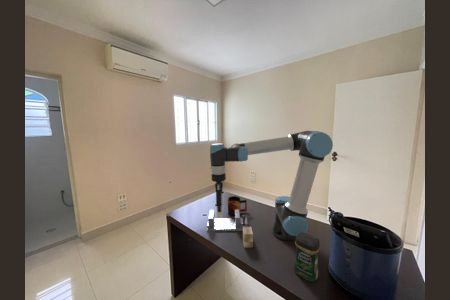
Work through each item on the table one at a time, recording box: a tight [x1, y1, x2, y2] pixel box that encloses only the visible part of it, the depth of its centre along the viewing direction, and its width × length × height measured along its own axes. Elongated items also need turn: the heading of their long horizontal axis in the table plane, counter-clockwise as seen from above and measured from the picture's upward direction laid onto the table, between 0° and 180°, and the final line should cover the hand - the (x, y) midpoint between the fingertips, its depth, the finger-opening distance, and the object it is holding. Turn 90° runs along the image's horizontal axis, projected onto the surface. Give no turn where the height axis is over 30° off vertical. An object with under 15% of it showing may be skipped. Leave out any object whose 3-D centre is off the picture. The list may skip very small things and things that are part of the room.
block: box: [242, 226, 254, 248], centre depth 99 cm, size 5×7×8 cm
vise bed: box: [206, 209, 243, 232], centre depth 117 cm, size 26×13×8 cm, turn 89°
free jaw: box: [234, 209, 249, 228], centre depth 116 cm, size 8×12×8 cm
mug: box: [227, 195, 248, 218], centre depth 133 cm, size 10×14×12 cm
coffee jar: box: [293, 232, 321, 283], centre depth 77 cm, size 10×8×19 cm
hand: (220, 210), depth 94 cm, fingers open, 13 cm apart
